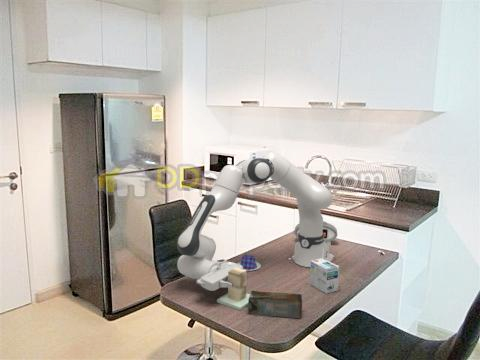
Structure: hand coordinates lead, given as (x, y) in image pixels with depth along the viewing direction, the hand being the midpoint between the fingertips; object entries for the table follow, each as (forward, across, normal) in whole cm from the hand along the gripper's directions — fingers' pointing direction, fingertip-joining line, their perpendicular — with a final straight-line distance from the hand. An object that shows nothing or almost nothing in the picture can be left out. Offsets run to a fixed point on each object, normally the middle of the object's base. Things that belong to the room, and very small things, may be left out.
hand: (239, 281), depth 153 cm
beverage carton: (+15, +2, +9) cm, 17 cm away
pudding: (-17, +31, +9) cm, 36 cm away
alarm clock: (-6, +81, +9) cm, 82 cm away
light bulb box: (+21, +31, +8) cm, 38 cm away
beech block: (-1, 0, +7) cm, 7 cm away
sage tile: (-1, 0, +8) cm, 8 cm away
